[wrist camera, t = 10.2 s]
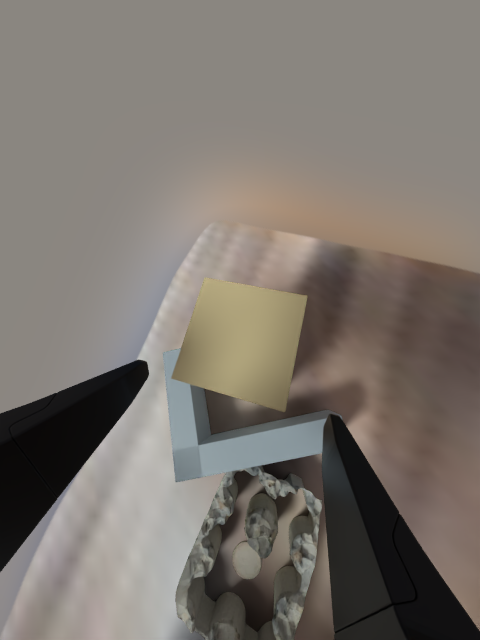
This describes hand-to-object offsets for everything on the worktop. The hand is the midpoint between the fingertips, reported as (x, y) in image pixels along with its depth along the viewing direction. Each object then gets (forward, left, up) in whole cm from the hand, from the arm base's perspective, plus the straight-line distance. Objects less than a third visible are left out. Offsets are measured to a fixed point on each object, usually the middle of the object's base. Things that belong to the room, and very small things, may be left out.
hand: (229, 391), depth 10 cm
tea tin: (+2, -1, -10) cm, 10 cm away
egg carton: (-11, +2, -11) cm, 15 cm away
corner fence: (0, 0, -10) cm, 10 cm away
